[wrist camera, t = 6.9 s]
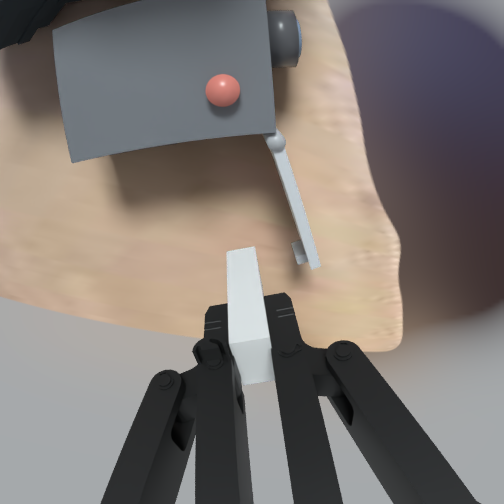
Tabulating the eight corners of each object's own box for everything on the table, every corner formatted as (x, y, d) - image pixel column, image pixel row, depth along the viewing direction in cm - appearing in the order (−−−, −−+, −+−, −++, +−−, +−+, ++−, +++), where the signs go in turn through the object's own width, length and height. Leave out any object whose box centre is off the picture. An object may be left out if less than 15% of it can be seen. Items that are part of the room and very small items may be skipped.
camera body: (107, 144, 25) (67, 170, 19) (92, 37, 20) (46, 29, 13) (294, 120, 25) (315, 136, 18) (285, 6, 20) (304, -20, 13)
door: (249, 126, 25) (253, 140, 20) (271, 119, 25) (282, 130, 19) (290, 239, 31) (302, 278, 25) (309, 233, 30) (325, 270, 25)
